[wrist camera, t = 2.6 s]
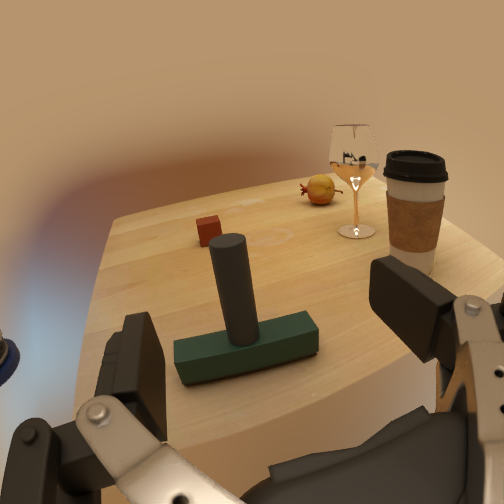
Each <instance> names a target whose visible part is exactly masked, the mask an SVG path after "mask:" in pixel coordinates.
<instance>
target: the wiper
mask: <svg viewBox="0 0 504 504" xmlns="http://www.w3.org/2000/svg"><path fill="white" fill-rule="evenodd" d="M209 249H210V254H211V259H212V264H213V269H214V274H215V279H216V284H217V289H218V293H219V298H220V303H221V307H222V312H223V316H224V321H225V326H226V330H223V331H219V332H214V333H210V334H205V335H200V336H195V337H190V338H185V339H180V340H175V341H174V364H175V367H176V369H177V372H178V374H179V377H180V379H181V382H182V384H184V386H190V385H195V384H200V383H205V382H210V381H215V380H220V379H224V378H229V377H233V376H238V375H242V374H246V373H251V372H255V371H259V370H263V369H266V368H270V367H274V366H278V365H282V364H285V363H289V362H292V361H296V360H299V359H303V358H306V357H309V356H313V355H316V354H317V352H318V351H319V329H318V327H317V326H316V324H315V323H314V321H313V320H312V318H311V317H310V316H309V314H308V313H307V311H302V312H298V313H294V314H290V315H286V316H282V317H278V318H274V319H270V320H266V321H262V322H258V319H257V312H256V305H255V299H254V292H253V285H252V278H251V272H250V265H249V258H248V251H247V245H246V238H245V236H244V235H242V234H238V233H229V234H223V235H219V236H217V237H214V238H213V239H211V240H210V241H209Z"/></svg>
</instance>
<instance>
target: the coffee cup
mask: <svg viewBox="0 0 504 504" xmlns="http://www.w3.org/2000/svg"><path fill="white" fill-rule="evenodd" d="M383 175H384V176H386V178H387V191H386V197H387V208H388V222H389V240H390V255H392V256H394V257H395V258H397V259H398V260H400V261H401V262H403V263H404V264H406V265H408V266H411V267H414V268H416V269H418V270H420V271H421V272H423V273H424V274H425V275H428V274H429V273H430V272H431V268H432V264H433V259H434V254H435V249H436V245H437V241H438V236H439V230H440V225H441V219H442V214H443V207H444V201H445V196H444V187H445V181H447V180H448V173H447V171H446V168H445V160H444V159H443V158H442V157H440V156H438V155H435V154H433V153H429V152H424V151H414V150H399V151H393V152H390V153H388V154H387V159H386V167H385V168H384V173H383Z"/></svg>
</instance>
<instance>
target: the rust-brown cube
mask: <svg viewBox="0 0 504 504" xmlns="http://www.w3.org/2000/svg"><path fill="white" fill-rule="evenodd" d="M196 224H197V229H198V234H199V239H200V244H201V247H205V246H209V241H210V240H211V239H213V238H214V237H217V236H219V235H222V230H221V224H220V220H219V218H218V216H217V215H215V216H210V217H205V218H200V219H196Z"/></svg>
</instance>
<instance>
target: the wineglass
mask: <svg viewBox="0 0 504 504" xmlns="http://www.w3.org/2000/svg"><path fill="white" fill-rule="evenodd" d="M329 160H330V165H331V167H332V169H333V170H334V172H335V173H336V174H337V175H338V176H339V177H340V178H341V179H343V180H344V181H345V182H346V183H347V184H348V185H349V186H350V187H351V188H352V190H353V192H354V224H349V225H345V226H342V227H341V228H339V234H340V235H342V236H344V237H347V238H355V239H360V238H367V237H370V236H372V235H373V234H374V233H375V230H374V228H372V227H370V226H368V225H363V224H359V197H358V192H359V189H360V188H361V186H362V185H363V184H364V183H365V182H366V181H367V180H368V179H369V178H371V177H372V175H373V174H374V173H375V172H376V170H377V168H378V166H379V153H378V150H377V146H376V143H375V139H374V136H373V133H372V130H371V128H370V125H336V126H334V130H333V135H332V141H331V147H330V156H329Z"/></svg>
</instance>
